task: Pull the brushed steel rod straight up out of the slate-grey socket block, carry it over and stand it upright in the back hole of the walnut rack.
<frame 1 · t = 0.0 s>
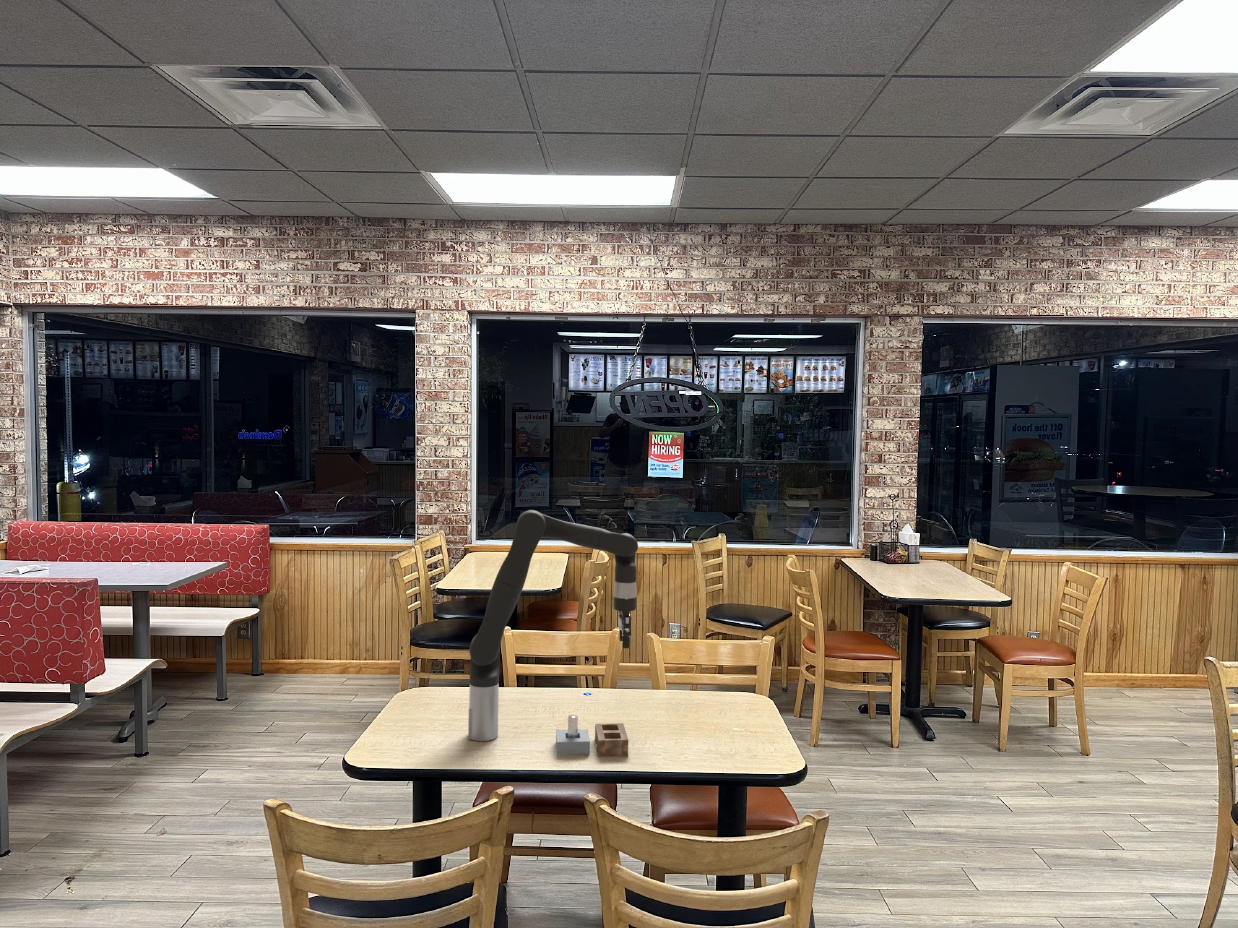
hand: (624, 644, 256), 29 cm above the table, tool pointing down, fingers open, 8 cm apart
socket block: (572, 748, 243), on the table
walnut rack: (611, 747, 244), on the table
steel rod: (572, 732, 243), in the socket block
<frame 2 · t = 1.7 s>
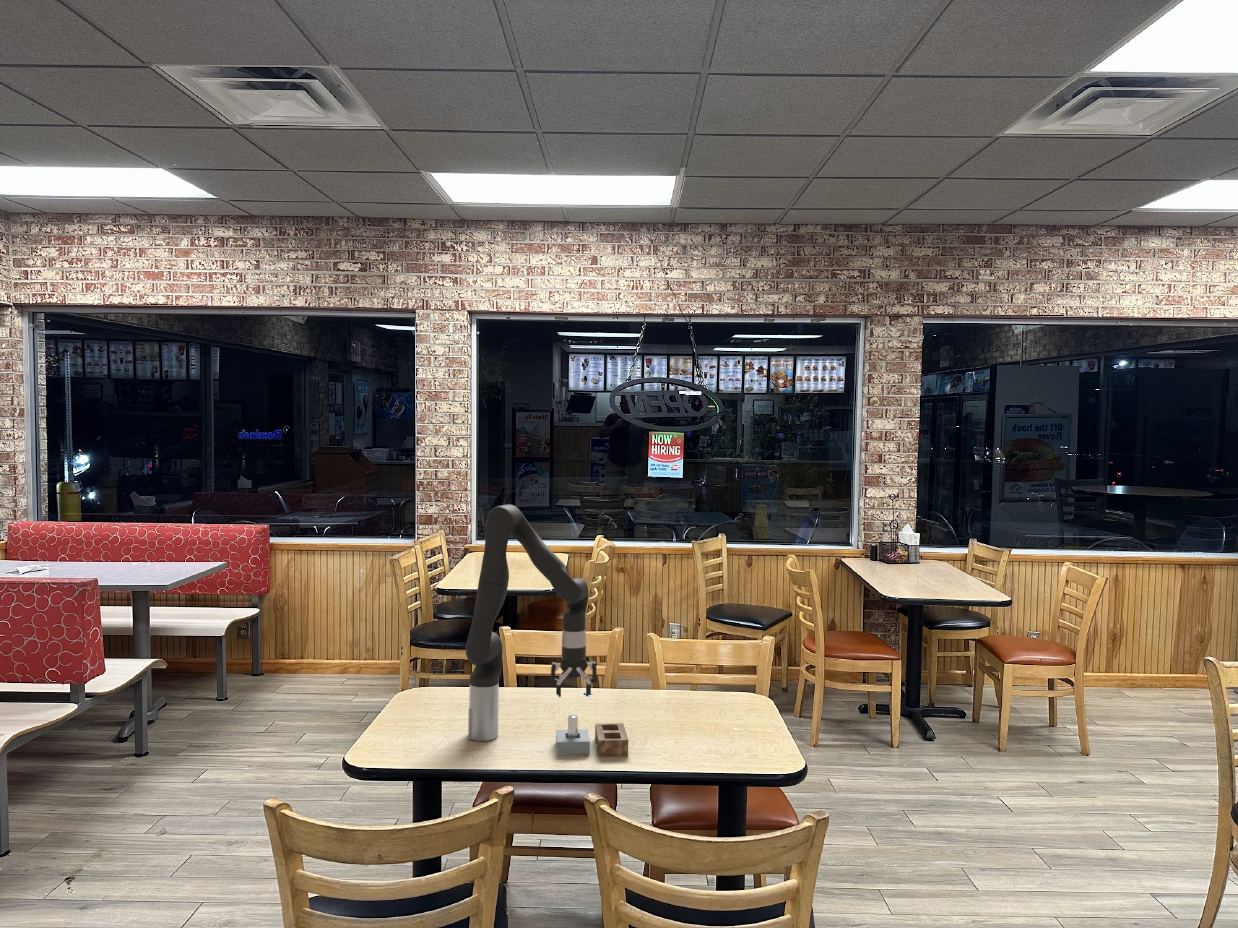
hand: (573, 695, 243), 16 cm above the table, tool pointing down, fingers open, 8 cm apart
nothing on the table moved.
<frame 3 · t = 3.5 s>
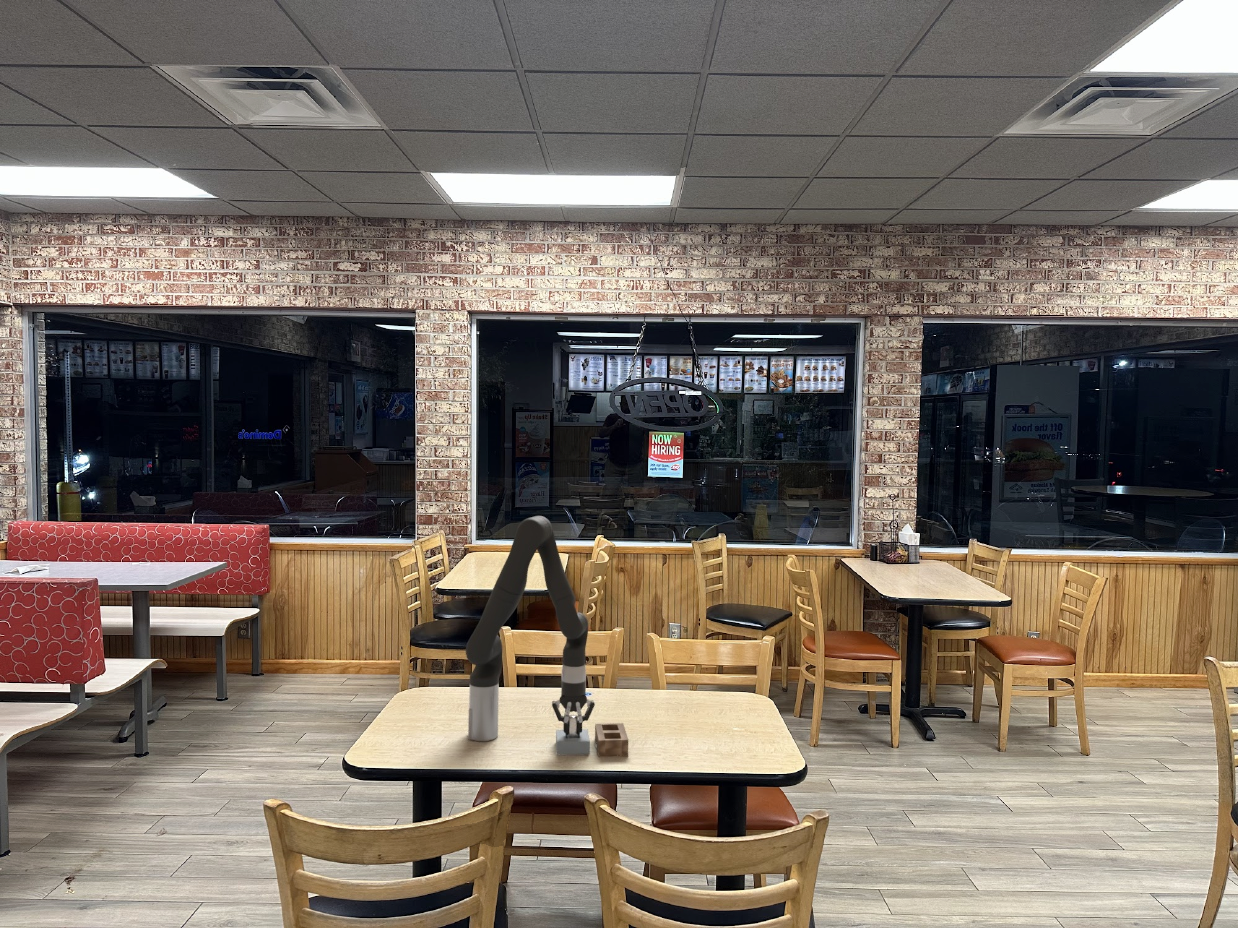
hand: (572, 733, 243), 5 cm above the table, tool pointing down, fingers closed on steel rod, 3 cm apart
steel rod: (572, 732, 243), in the socket block, touching gripper
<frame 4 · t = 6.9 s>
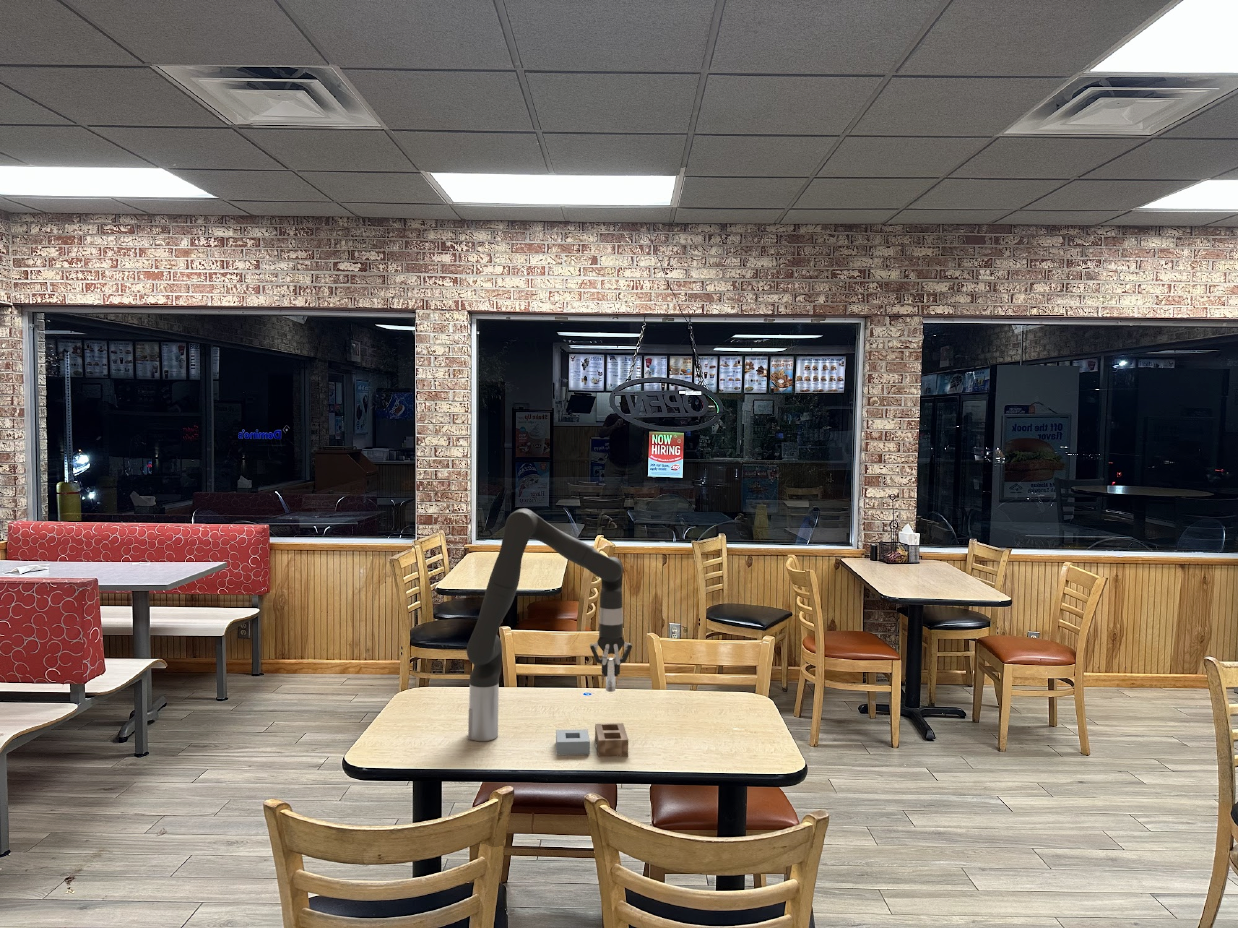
hand: (610, 675, 247), 22 cm above the table, tool pointing down, fingers closed on steel rod, 3 cm apart
steel rod: (610, 674, 247), point 22 cm above the table, touching gripper
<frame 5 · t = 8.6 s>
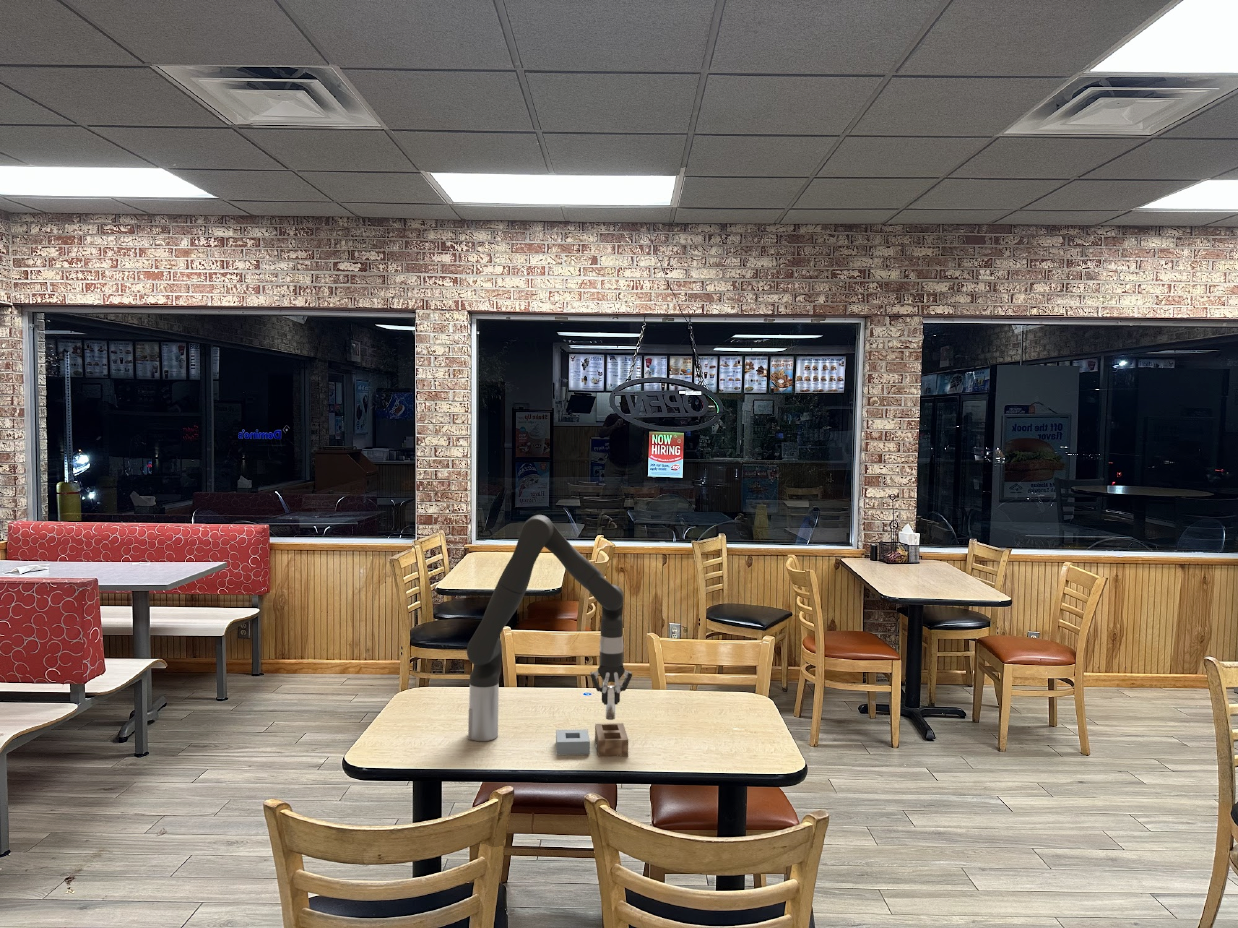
hand: (610, 703, 248), 13 cm above the table, tool pointing down, fingers closed on steel rod, 3 cm apart
steel rod: (610, 702, 247), point 13 cm above the table, touching gripper
when the fingers open (7 cm above the table, at t = 10.0 s): steel rod drops 2 cm, resting in walnut rack.
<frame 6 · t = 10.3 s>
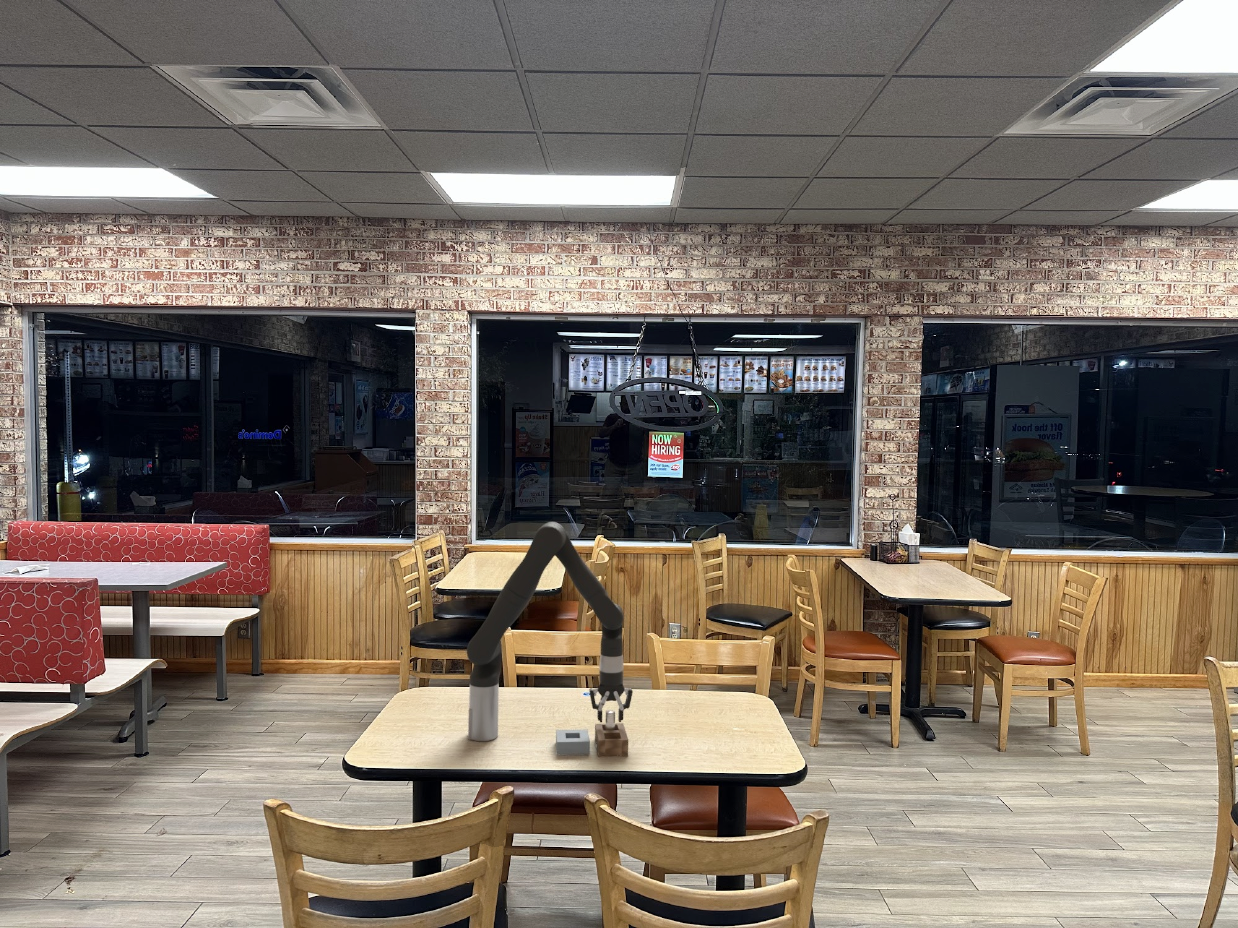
hand: (610, 721, 248), 7 cm above the table, tool pointing down, fingers open, 5 cm apart
steel rod: (610, 727, 248), in the walnut rack
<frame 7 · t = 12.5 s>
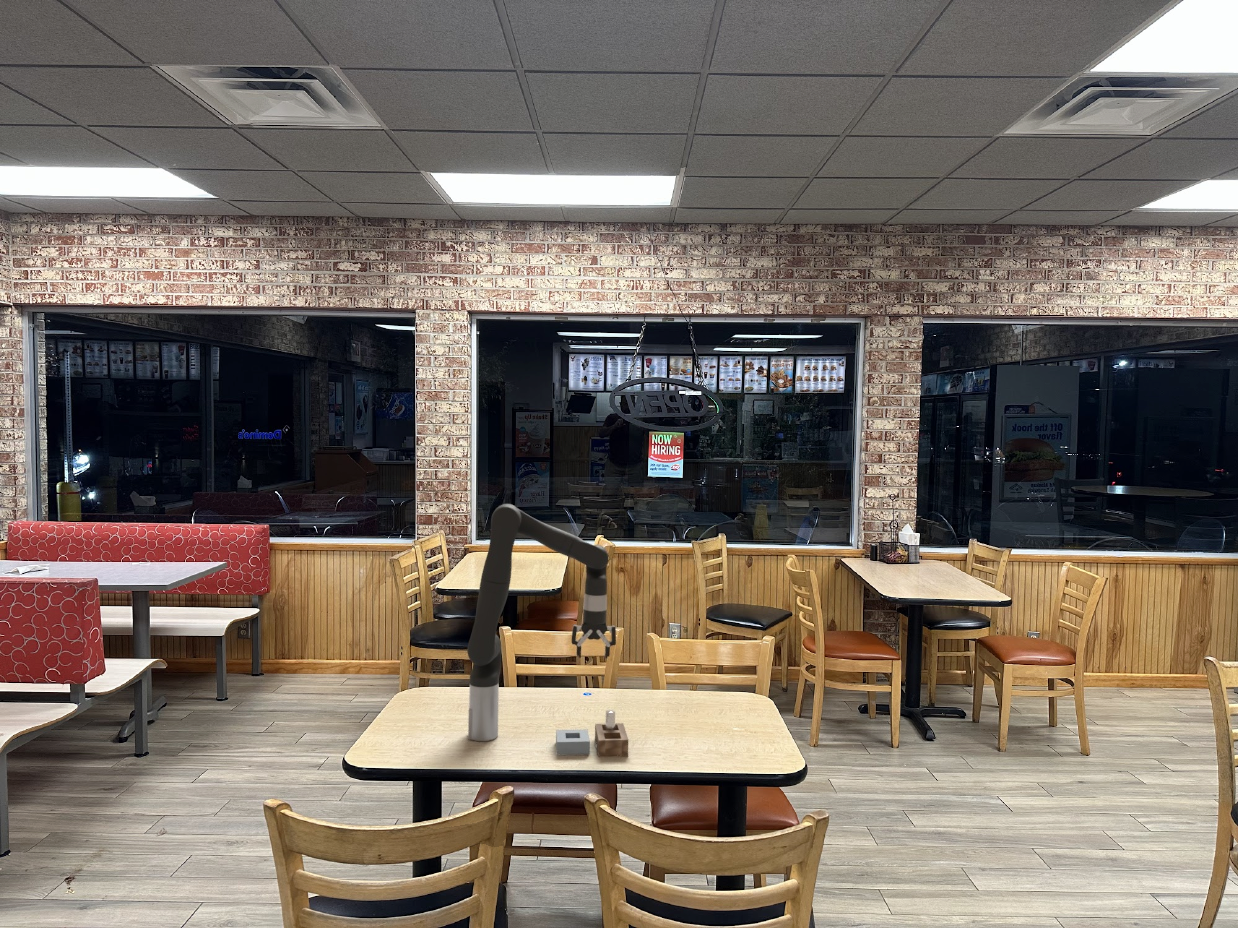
hand: (592, 657, 253), 25 cm above the table, tool pointing down, fingers open, 8 cm apart
nothing on the table moved.
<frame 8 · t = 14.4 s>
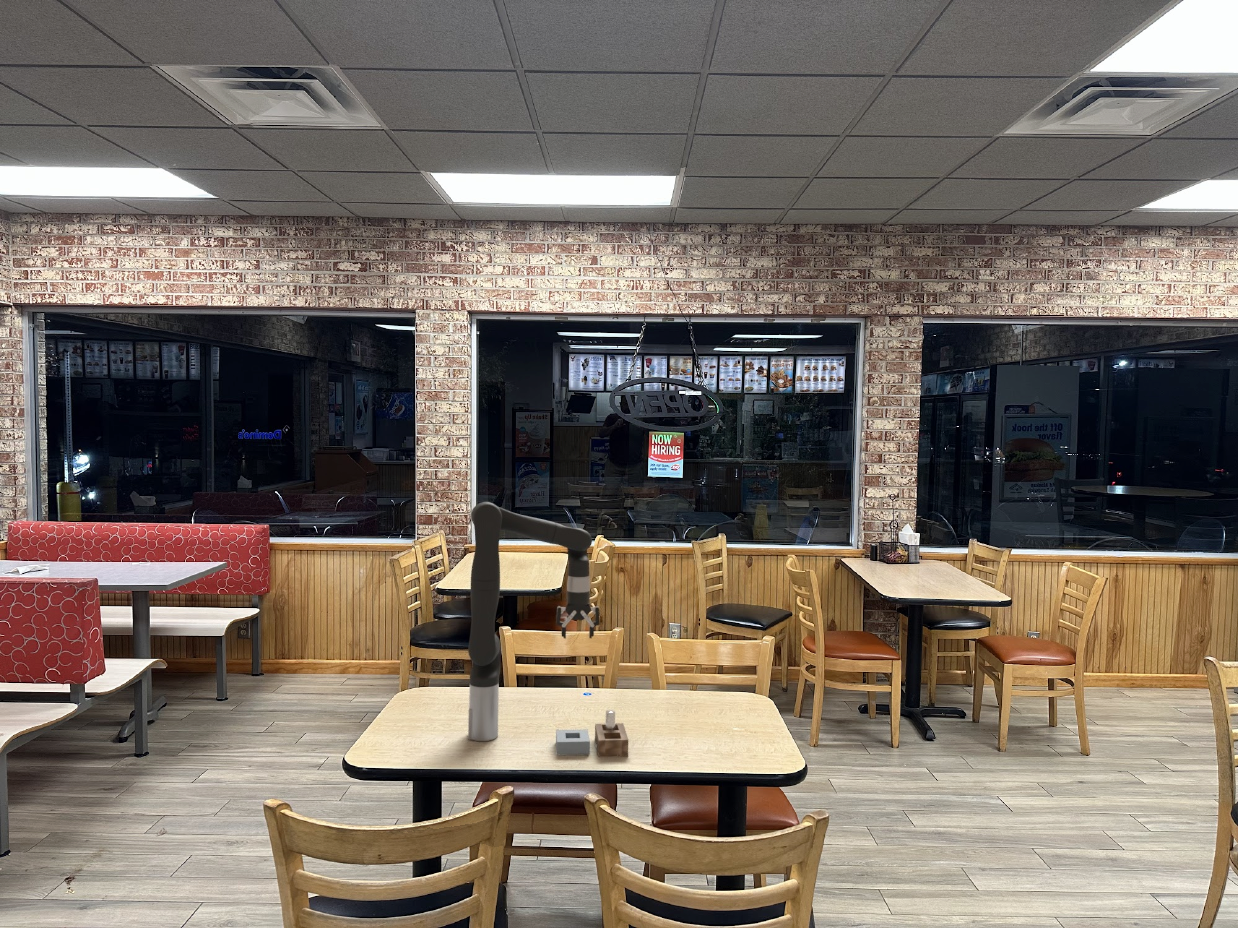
hand: (577, 637, 259), 30 cm above the table, tool pointing down, fingers open, 8 cm apart
nothing on the table moved.
at the end: steel rod 0.0 cm from the target spot on the walnut rack, point 5.0 cm above the walnut rack's base; steel rod tilted 0°; the gripper is holding nothing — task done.
